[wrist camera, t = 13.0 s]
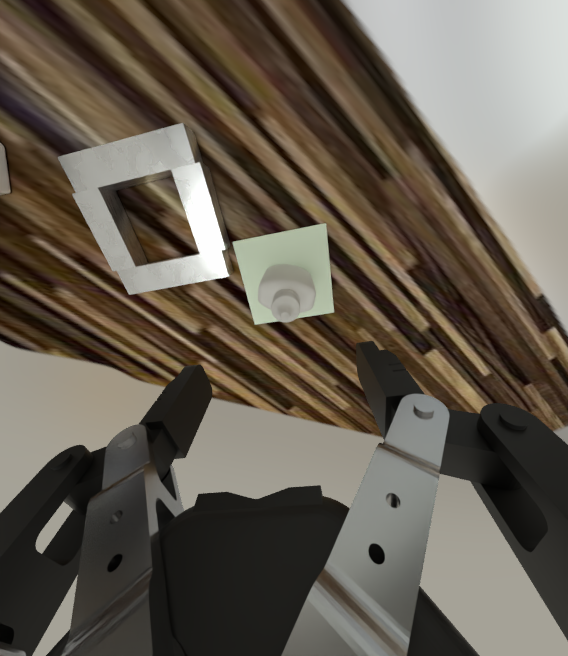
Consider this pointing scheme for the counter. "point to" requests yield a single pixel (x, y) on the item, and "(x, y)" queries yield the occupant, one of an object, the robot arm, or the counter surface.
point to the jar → (4, 173)
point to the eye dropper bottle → (286, 291)
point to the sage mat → (286, 248)
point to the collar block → (138, 168)
